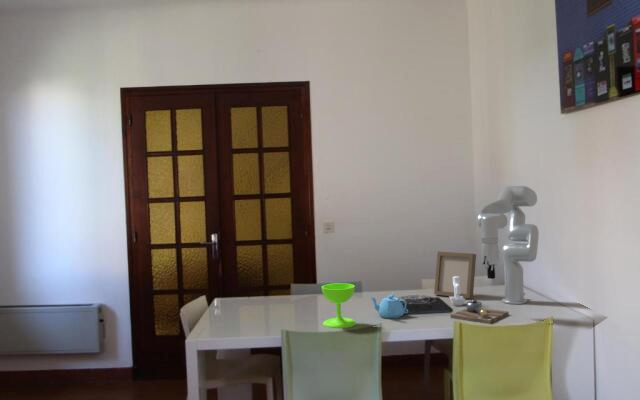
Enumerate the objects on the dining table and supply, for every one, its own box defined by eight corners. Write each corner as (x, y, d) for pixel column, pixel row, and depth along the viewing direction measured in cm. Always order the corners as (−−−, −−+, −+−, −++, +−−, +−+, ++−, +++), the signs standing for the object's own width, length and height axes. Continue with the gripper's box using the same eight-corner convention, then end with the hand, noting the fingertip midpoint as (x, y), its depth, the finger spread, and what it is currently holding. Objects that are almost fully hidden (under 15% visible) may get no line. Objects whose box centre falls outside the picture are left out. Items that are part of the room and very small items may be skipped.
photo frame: (469, 300, 309) (468, 254, 309) (434, 295, 324) (432, 252, 323) (481, 295, 321) (479, 251, 320) (446, 291, 335) (445, 249, 334)
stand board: (471, 309, 288) (470, 306, 288) (508, 314, 274) (508, 311, 274) (450, 317, 272) (450, 314, 272) (489, 323, 259) (489, 320, 259)
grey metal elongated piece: (465, 309, 281) (465, 299, 281) (479, 308, 281) (478, 298, 281) (477, 318, 262) (477, 307, 262) (492, 318, 262) (491, 307, 262)
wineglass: (363, 323, 267) (361, 286, 266) (336, 330, 258) (334, 291, 257) (342, 317, 280) (341, 282, 279) (316, 323, 271) (314, 286, 270)
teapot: (412, 316, 278) (411, 295, 278) (388, 321, 270) (387, 300, 270) (393, 311, 290) (392, 291, 290) (369, 315, 282) (369, 295, 282)
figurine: (452, 306, 295) (451, 278, 294) (448, 302, 304) (447, 275, 304) (466, 306, 295) (465, 278, 294) (462, 302, 304) (461, 274, 304)
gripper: (489, 238, 280) (490, 274, 281) (475, 242, 269) (477, 280, 270) (504, 239, 275) (505, 276, 276) (490, 243, 264) (491, 281, 265)
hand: (491, 278), depth 273 cm, fingers closed
